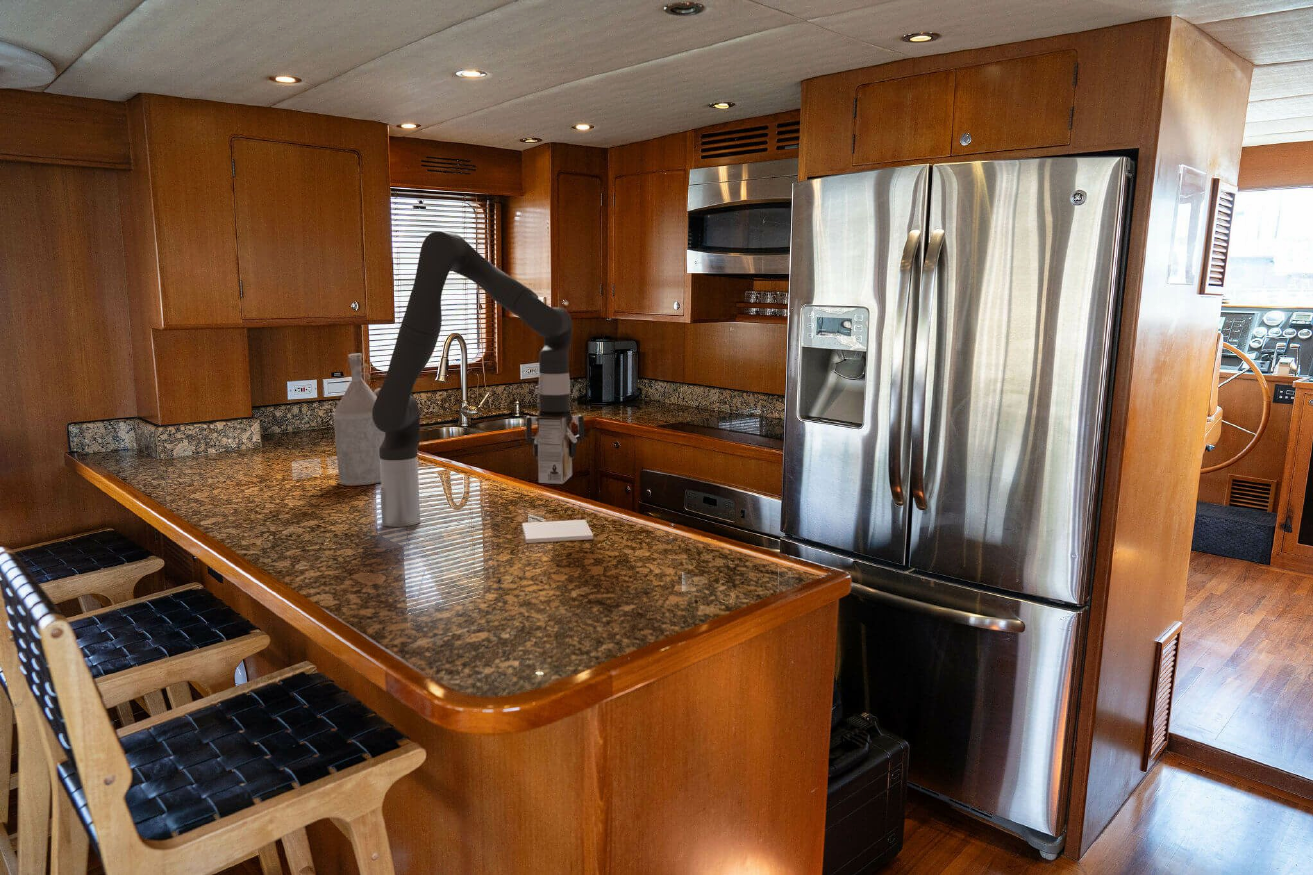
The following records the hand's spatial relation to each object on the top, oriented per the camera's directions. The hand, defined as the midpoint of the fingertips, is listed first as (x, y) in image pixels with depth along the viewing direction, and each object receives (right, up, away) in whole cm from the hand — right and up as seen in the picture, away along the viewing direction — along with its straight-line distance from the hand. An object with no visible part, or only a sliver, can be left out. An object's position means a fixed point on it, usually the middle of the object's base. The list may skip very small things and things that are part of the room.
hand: (555, 458), depth 209 cm
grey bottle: (-66, -9, +57) cm, 88 cm away
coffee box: (0, -5, +1) cm, 6 cm away
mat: (0, -19, +3) cm, 19 cm away
